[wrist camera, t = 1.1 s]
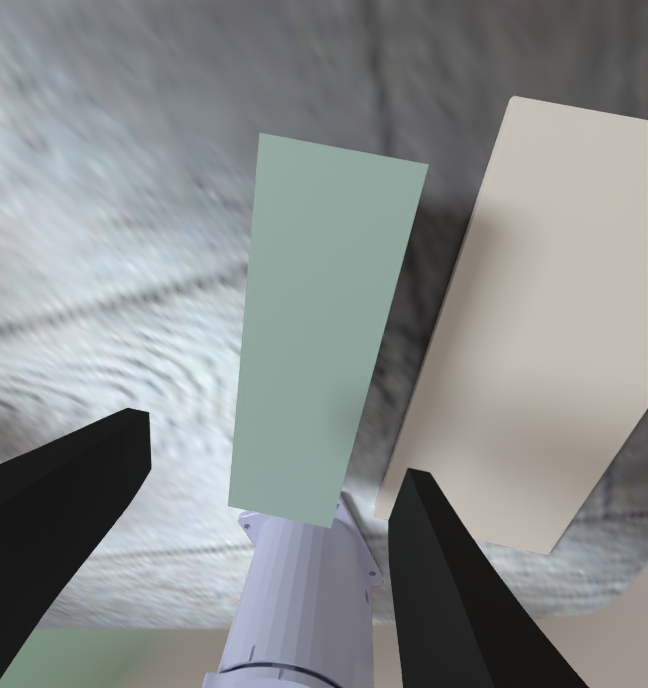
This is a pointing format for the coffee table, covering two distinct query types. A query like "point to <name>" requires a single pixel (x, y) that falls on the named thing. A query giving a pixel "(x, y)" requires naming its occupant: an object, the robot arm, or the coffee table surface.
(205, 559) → the coffee table surface
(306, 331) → the lid
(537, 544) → the mat
